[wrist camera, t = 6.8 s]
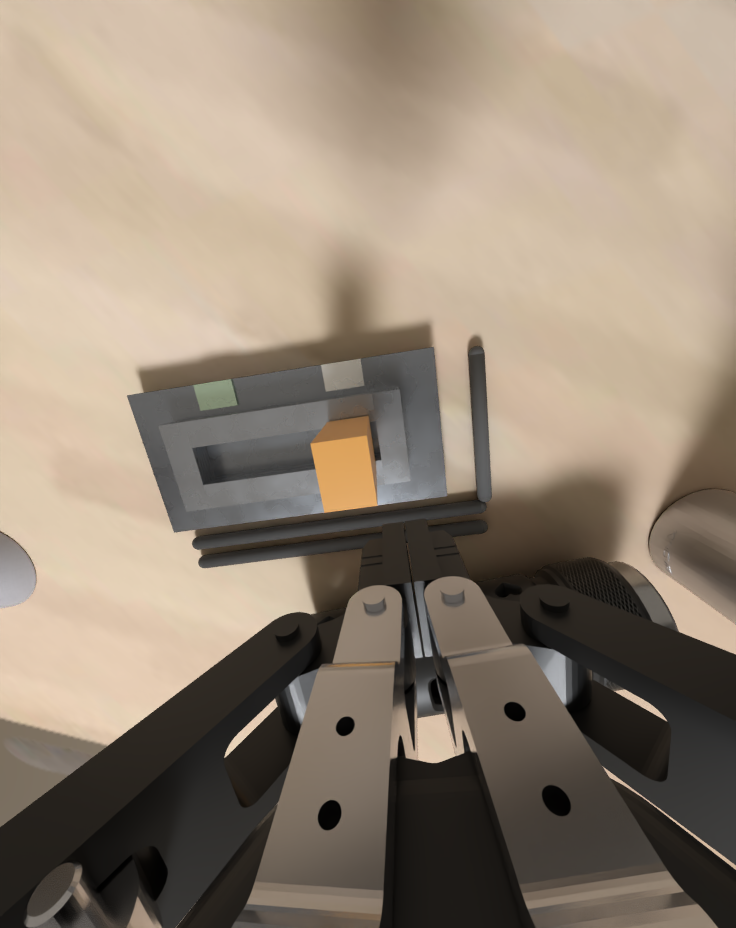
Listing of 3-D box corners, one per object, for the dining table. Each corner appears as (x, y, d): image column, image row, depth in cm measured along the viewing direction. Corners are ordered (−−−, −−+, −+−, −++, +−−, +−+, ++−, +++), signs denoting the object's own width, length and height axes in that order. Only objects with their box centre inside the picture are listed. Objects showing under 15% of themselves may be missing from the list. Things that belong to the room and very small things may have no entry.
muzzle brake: (305, 585, 34) (276, 677, 24) (593, 527, 32) (694, 602, 22) (330, 659, 36) (314, 770, 26) (598, 611, 34) (690, 712, 24)
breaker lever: (368, 411, 26) (366, 435, 18) (376, 460, 27) (377, 505, 19) (330, 417, 27) (310, 443, 18) (339, 465, 28) (324, 512, 19)
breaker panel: (429, 348, 27) (438, 345, 23) (442, 487, 30) (452, 505, 27) (143, 393, 28) (107, 398, 25) (186, 522, 32) (160, 544, 28)
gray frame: (481, 345, 27) (486, 344, 26) (490, 527, 31) (495, 534, 30) (149, 397, 28) (140, 398, 27) (204, 564, 33) (198, 571, 32)
